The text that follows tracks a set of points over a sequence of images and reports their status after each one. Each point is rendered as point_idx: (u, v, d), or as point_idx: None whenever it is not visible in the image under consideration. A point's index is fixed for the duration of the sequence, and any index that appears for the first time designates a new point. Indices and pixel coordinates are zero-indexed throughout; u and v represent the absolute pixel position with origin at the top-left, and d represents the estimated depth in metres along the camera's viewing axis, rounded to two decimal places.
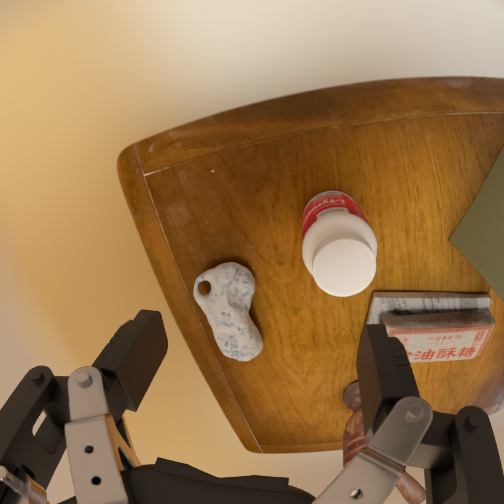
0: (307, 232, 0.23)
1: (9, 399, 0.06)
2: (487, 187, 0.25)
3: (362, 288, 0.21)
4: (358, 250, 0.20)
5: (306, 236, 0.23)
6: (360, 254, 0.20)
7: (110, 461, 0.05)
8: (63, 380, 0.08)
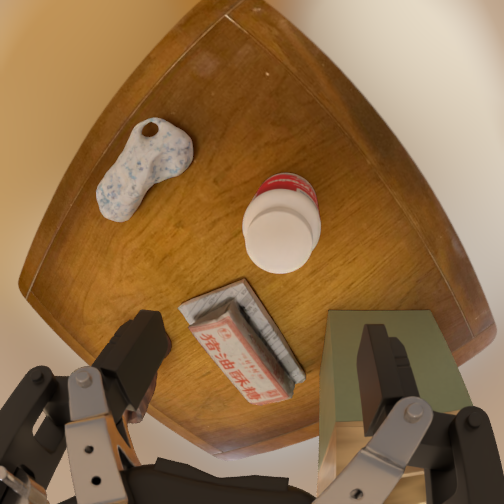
0: (280, 189, 0.22)
1: (9, 399, 0.06)
2: (391, 315, 0.33)
3: (269, 270, 0.22)
4: (303, 245, 0.21)
5: (277, 191, 0.22)
6: (300, 248, 0.21)
7: (110, 461, 0.05)
8: (63, 380, 0.08)
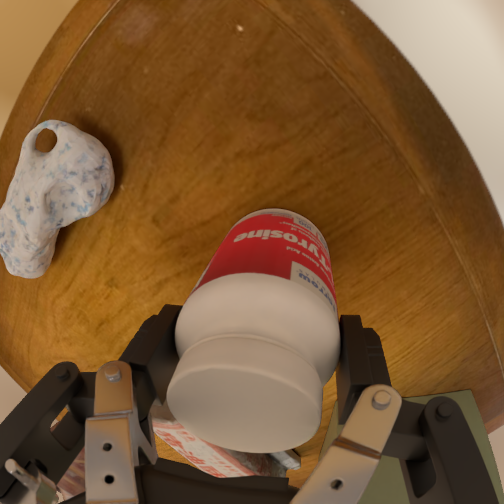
0: (252, 277, 0.10)
1: (30, 392, 0.07)
2: None
3: (227, 447, 0.09)
4: (299, 424, 0.08)
5: (243, 282, 0.09)
6: (292, 429, 0.08)
7: (127, 461, 0.05)
8: (88, 376, 0.08)
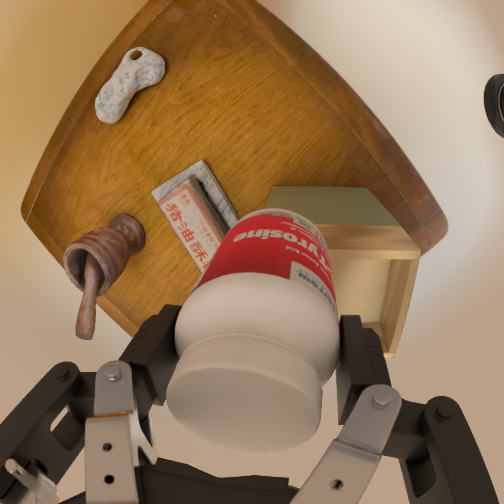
0: (252, 277, 0.10)
1: (30, 392, 0.07)
2: (327, 188, 0.41)
3: (226, 447, 0.09)
4: (298, 424, 0.08)
5: (243, 282, 0.09)
6: (292, 429, 0.08)
7: (127, 461, 0.05)
8: (88, 376, 0.08)
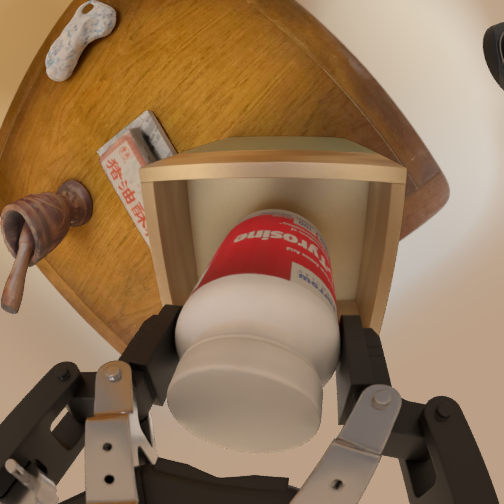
0: (252, 278, 0.10)
1: (30, 392, 0.07)
2: (294, 136, 0.32)
3: (227, 447, 0.09)
4: (299, 425, 0.08)
5: (243, 283, 0.09)
6: (292, 429, 0.08)
7: (127, 461, 0.05)
8: (88, 376, 0.08)
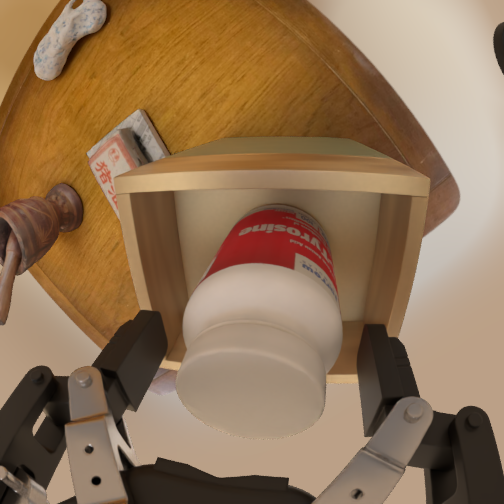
0: (258, 267, 0.10)
1: (9, 399, 0.06)
2: None
3: (233, 434, 0.09)
4: (304, 408, 0.08)
5: (250, 272, 0.10)
6: (297, 413, 0.08)
7: (110, 461, 0.05)
8: (63, 380, 0.08)
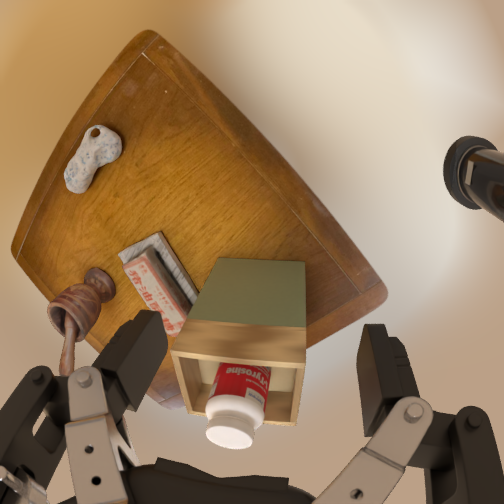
0: (232, 397, 0.27)
1: (9, 399, 0.06)
2: (266, 263, 0.46)
3: (224, 446, 0.26)
4: (246, 441, 0.25)
5: (229, 399, 0.27)
6: (244, 442, 0.25)
7: (110, 461, 0.05)
8: (63, 380, 0.08)
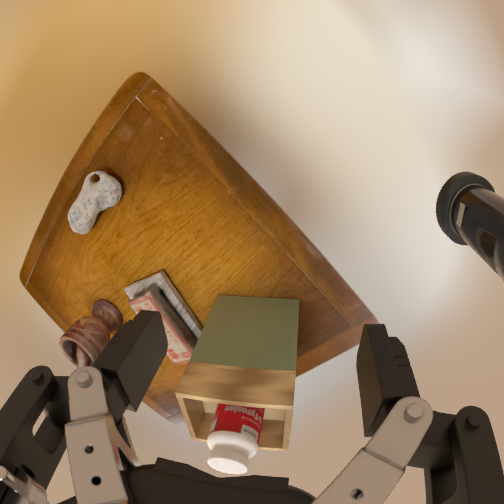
0: (229, 433, 0.30)
1: (9, 399, 0.06)
2: (262, 301, 0.49)
3: None
4: (241, 468, 0.28)
5: (227, 434, 0.29)
6: (240, 469, 0.28)
7: (110, 461, 0.05)
8: (63, 380, 0.08)
